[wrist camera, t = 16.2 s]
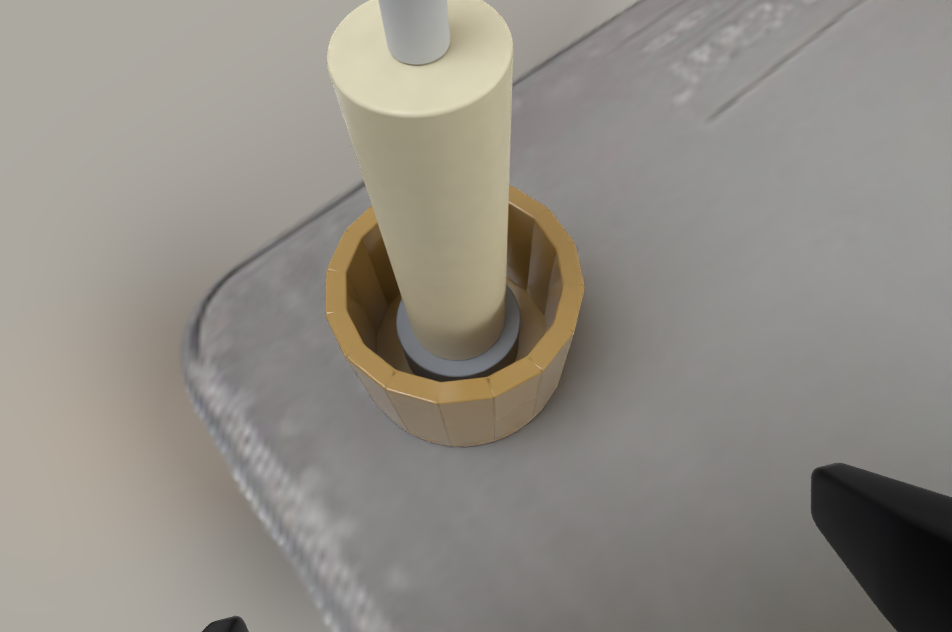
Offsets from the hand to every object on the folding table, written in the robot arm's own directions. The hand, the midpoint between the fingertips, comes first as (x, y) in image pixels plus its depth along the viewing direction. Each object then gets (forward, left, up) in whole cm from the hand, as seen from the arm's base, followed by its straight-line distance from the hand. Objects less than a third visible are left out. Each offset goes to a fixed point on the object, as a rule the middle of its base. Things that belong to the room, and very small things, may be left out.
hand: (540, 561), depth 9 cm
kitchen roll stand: (+5, +6, -9) cm, 12 cm away
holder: (+5, +6, -9) cm, 12 cm away
